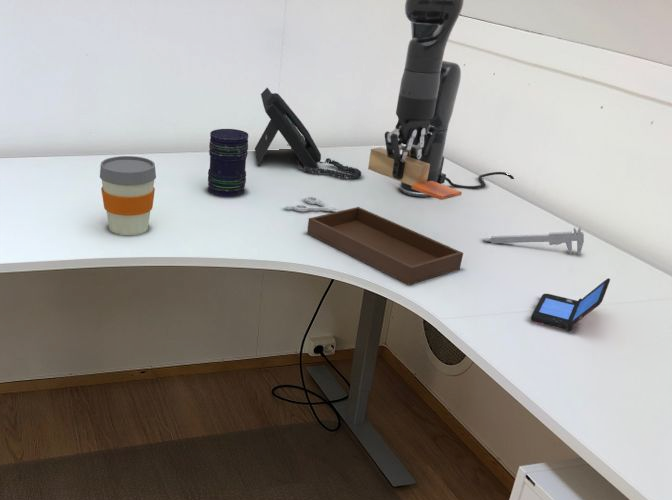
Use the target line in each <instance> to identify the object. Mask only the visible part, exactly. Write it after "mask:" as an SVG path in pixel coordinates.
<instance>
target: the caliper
mask: <svg viewBox="0 0 672 500" xmlns="http://www.w3.org/2000/svg"><path fill="white" fill-rule="evenodd" d="M584 235H585V233H584V231H582V228H581V226H580V227H578V229H576V227H573V232H572V231H557V232H556V231H555V232H549V233H547V234H546V233H545V234H517V235H515V234H514V235H491V237H488V238H487V237H486V238H484V242H490V244H517V243H518V244H519V243H548V245H549V246H554V245H556V246H559V245H561V244H565V246H566V248H567V251H568V254H569V255H572V251H573V242H576V253H577V255H580V254H581V252H582V249H583V246H584V244H585V243H584V242H585V236H584Z"/></svg>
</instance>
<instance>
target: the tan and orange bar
mask: <svg viewBox="0 0 672 500" xmlns="http://www.w3.org/2000/svg"><path fill="white" fill-rule="evenodd" d="M393 153H394V152H393ZM401 154H402V153H400V155H401ZM393 166H394V159H392V158H389V157H388V156H387V149H386V147H382V146H381V147H375V148H370V153H369V162H368V166H367V170H369V171H372V172H375V173H377V174H379V175H382V176H385V177H388V178H390V179H393V180H395V181H398V182H400V183H401V182H403V183H406V184H408V185H411V186H412V188H411V189H414V190H416V191H419V192H422V193H424V194H427V195H429V196H430V197H432V198H435V199H437V200H439V201H443V200H449V199H452V198H457V197H461V196H462V193H463V192H462V191H461V190H458V189H456V188H453V187H450V186H448V185H444V184H443V183H442V184H439V183H437V182H434V181H428V182H427V179H428V173H429V168H430V164H428V163H425V162H423V161H420V160H417V159H414V158H411V157H408V156H407V157H406V160H405V167H404V172H403V178H402V179H396V178H394V177H393V174H392V172H393Z"/></svg>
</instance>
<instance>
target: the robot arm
mask: <svg viewBox="0 0 672 500" xmlns="http://www.w3.org/2000/svg"><path fill="white" fill-rule="evenodd" d="M463 7H464V0H405V4H404V13H405V17H406V19H407V20H408V21H409V22H410V31H411V33H410V34H411V39H410V40H409V43H408V45H407V51H406V57H405V63H404V68H403V73H402V76H401V80H400V85H399V92H398V97H397V103H396V104H397V105H396V109H395V110H396V111H395V115H396V117H397V123H396V125H395V128H394V129H393V130H392V131H385V133H384V142H385V149H387V156H388V157H389V158H392V159H394V166H393V172H392V174H393V177H394V178H396V179H402V178H403V172H404V167H405V160H406V157H407V156H408V157H411V158H414V159H417V160H420V161H423V162H425V163H428V164H430V168H429V173H428V179H427V182H428V181H434V182H437V183H439V184H442V185H443V184H445V182H447V183H448V185H450V186H452V187H454V188H459V189H468V190H469V189H473V190H474V189H481V188H484V187H485V186H486V182H485V181H484V180H483V178H485V177H490V176H496V175H504V176H507V177H508V178H510V180H515V178H514V176H513V175H512V174H510V175H507V174H506V173H507V172H505V171H493V172H489V173H484V174H480V175H478V178H477V179H478V181H479V182H480V183H481V184H479V185H462V184H456V183H453V182H452V181H451V179H450V178H449V177H448V176H447V174H446V173H443V168H444V162H445V156H444V150H445V147H446V146H445V145H446V140H447V137H448V136H447V135H448V131H449V130H448V129H449V125H450V122H451V119H452V116H453V114H454V113H453V112H454V108H455V104H456V101H457V100H456V99H457V96H458V93H459V89H460V88H459V87H460V83H461V78H462V69H461V66H460V64H458V63H456V62H452V61H446V60H443V59H444V55H445V50H446V47H447V44H448V41H449V39H450V36H451V33H452V31H453V29H454V27H455V26H456V23H457V21H458V19H459V18H460V15H461V12H462V11H463ZM393 152H394V153H393ZM400 154H401V155H400ZM411 188H412V186H411V185H408V184H406V183H403V182H400V185H399V191H400V192H401V193H403V194H405V195H407V196H411V197H417V198H428V197H429V198H430V197H431V196H429V195H427V194H424V193H422V192H419V191H416V190H414V189H411Z"/></svg>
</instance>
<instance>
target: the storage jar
mask: <svg viewBox="0 0 672 500" xmlns="http://www.w3.org/2000/svg"><path fill="white" fill-rule="evenodd" d="M209 137H210V138H209V142H208V143H209V145H208V147H209V150H208V156H209V169H208V171H207V185H208V187H207V193H209V194H210V195H212V196H215V197H219V198H238V197H241V196H243V195H244V194H245V193H246V192H245V187H246V184H247V183H246V182H247V171H246V163H247V157H248V154H249V153H248V150H249V140H248V139H249V133H248V132H247V131H244V130H241V129H235V128H218V129H214V130H212V131H210V133H209Z"/></svg>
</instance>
